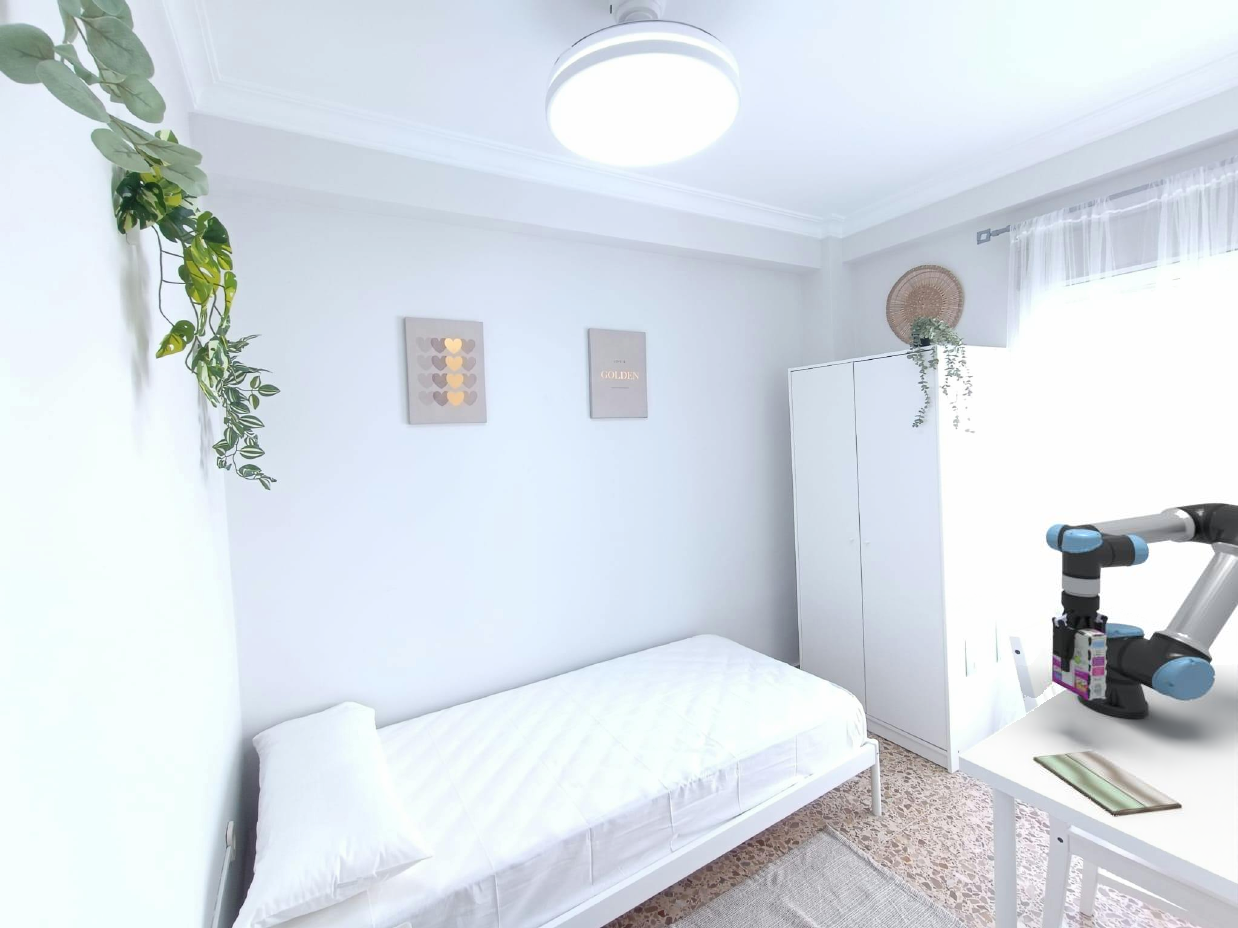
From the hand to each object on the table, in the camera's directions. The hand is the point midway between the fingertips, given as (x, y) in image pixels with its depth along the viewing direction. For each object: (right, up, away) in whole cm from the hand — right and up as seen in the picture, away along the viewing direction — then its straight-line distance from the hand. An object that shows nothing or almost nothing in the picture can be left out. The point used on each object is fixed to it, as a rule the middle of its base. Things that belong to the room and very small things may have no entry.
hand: (1078, 682), depth 146 cm
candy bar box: (0, -2, 0) cm, 2 cm away
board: (-7, -17, -16) cm, 24 cm away
